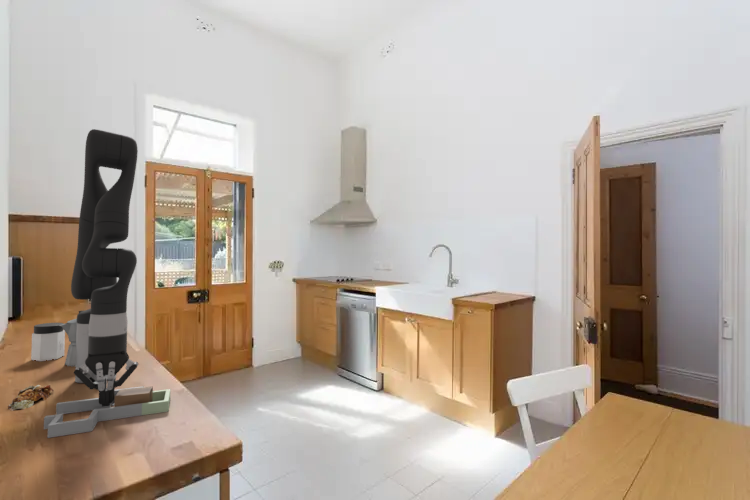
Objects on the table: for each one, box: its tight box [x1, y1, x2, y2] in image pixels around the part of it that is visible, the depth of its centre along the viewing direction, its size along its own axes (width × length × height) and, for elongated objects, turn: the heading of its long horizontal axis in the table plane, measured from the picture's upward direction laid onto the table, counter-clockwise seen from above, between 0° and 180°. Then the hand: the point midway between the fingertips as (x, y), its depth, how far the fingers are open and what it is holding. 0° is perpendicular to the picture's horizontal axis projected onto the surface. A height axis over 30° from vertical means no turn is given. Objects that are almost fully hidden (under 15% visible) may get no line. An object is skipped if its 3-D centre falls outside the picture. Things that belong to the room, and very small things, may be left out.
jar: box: [30, 322, 66, 362], centre depth 135 cm, size 9×8×12 cm
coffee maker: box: [59, 310, 83, 367], centre depth 131 cm, size 15×9×18 cm, turn 148°
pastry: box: [7, 384, 54, 411], centre depth 96 cm, size 7×12×4 cm, turn 26°
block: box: [113, 386, 154, 407], centre depth 92 cm, size 5×7×4 cm
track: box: [43, 385, 172, 439], centre depth 90 cm, size 19×24×2 cm
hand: (106, 405), depth 89 cm, fingers closed
